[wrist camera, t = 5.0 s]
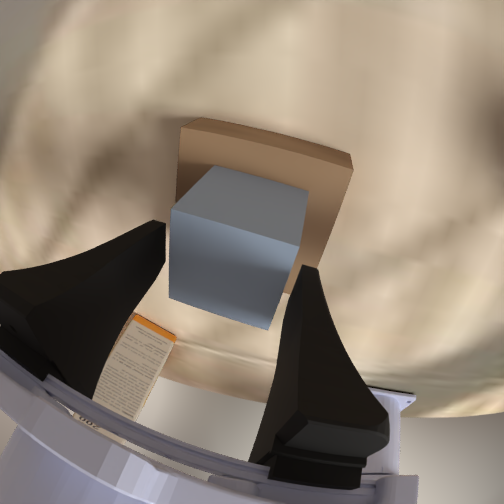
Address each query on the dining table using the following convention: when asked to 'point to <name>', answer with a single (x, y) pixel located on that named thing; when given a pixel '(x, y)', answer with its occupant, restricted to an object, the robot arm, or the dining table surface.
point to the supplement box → (131, 371)
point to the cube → (235, 244)
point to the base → (271, 173)
